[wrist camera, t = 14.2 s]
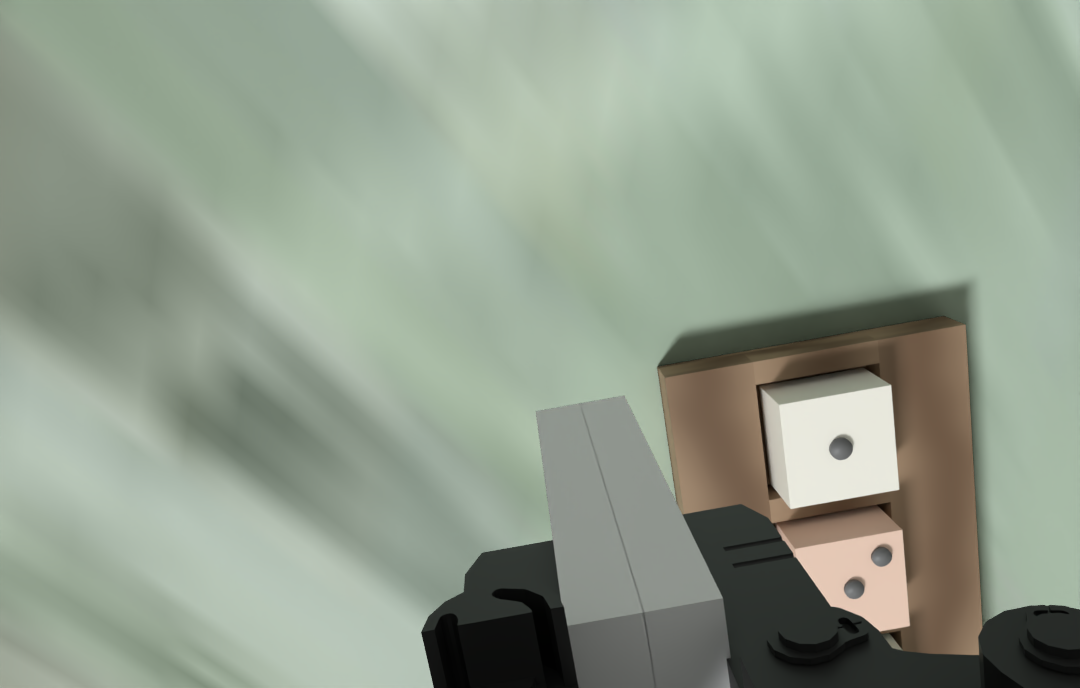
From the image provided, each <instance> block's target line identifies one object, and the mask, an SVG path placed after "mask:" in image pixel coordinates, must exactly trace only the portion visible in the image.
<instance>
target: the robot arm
mask: <svg viewBox="0 0 1080 688" xmlns="http://www.w3.org/2000/svg"><path fill="white" fill-rule="evenodd" d="M536 417H537V424H538V432H539V439H540V447H541V454H542V462H543V469H544V477H545V484H546V492H547V499H548V507H549V514H550V522H551V529H552V537H553V540H552V541H546V542H541V543H535V544H529V545H524V546H518V547H512V548H507V549H501V550H496V551H490V552H484V553H482V554H481V555H480V556H479V557H478V559H477V560H476V561H475V563H474V564H473V565H472V566H471V568H470V569H469V570H468V572H467V573H466V574H465V584H464V592H463V593H461V594H459V595H457V596H456V597H454V598H452V599H450V600H448V601H446V602H444V603H443V604H442V605H441V606H440V607H439V608H438V609H436V610H435V611H434V612H433V613H432V614H431V615H430V616H429V617H428V619H427V621H426V623H425V625H424V627H423V629H422V632H421V633H422V637H423V642H424V646H425V651H426V655H427V659H428V664H429V668H430V673H431V677H432V681H433V686H434V688H1080V610H1079V609H1074V608H1069V607H1066V606H1057V605H1049V606H1045V605H1038V606H1027V607H1022V608H1017V609H1012V610H1007V611H1004V612H1002V613H1000V614H998V615H997V616H995V617H993V618H992V619H990V620H988V621H986V622H985V624H984V626H983V628H982V630H981V632H980V634H979V636H978V644H979V655H959V654H928V653H918V652H907V651H903V650H898V649H894V648H892V647H891V646H890V644H889V643H888V642H887V641H886V639H885V638H884V637H883V635H882V634H881V633H880V631H879V630H878V629H877V628H875V627H874V626H873V625H872V624H871V623H869V622H868V621H867V620H866V619H865V618H863V617H862V616H859V615H857V614H854V613H852V612H849V611H847V610H844V609H842V608H838V607H831V606H830V604H829V603H828V601H827V600H826V599H825V597H824V596H823V594H822V593H821V592H820V590H819V589H818V587H817V586H816V585H815V583H814V582H813V580H812V579H811V578H810V576H809V575H808V573H807V572H806V570H805V569H804V568H803V566H802V565H801V563H800V562H799V561H798V559H797V558H796V557H794V555H793V552H792V551H791V549H790V548H789V546H788V545H787V544H786V542H785V541H783V540H782V537H781V535H780V534H779V532H778V531H777V530H776V528H775V527H774V525H773V524H772V522H771V521H770V520H769V518H768V517H766V516H764V515H762V514H760V513H758V512H756V511H754V510H752V509H750V508H748V507H746V506H744V505H742V504H738V505H732V506H727V507H721V508H715V509H710V510H704V511H699V512H693V513H687V514H682V513H681V511H680V509H679V507H678V505H677V503H676V501H675V499H674V497H673V494H672V492H671V490H670V488H669V486H668V484H667V482H666V480H665V478H664V476H663V474H662V472H661V470H660V468H659V466H658V464H657V462H656V460H655V457H654V455H653V453H652V451H651V449H650V447H649V445H648V443H647V441H646V439H645V437H644V435H643V433H642V431H641V429H640V427H639V425H638V423H637V420H636V418H635V416H634V414H633V412H632V410H631V408H630V406H629V404H628V402H627V400H626V398H625V396H619V397H613V398H607V399H602V400H596V401H590V402H585V403H579V404H574V405H568V406H562V407H557V408H551V409H545V410H540V411H536Z"/></svg>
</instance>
